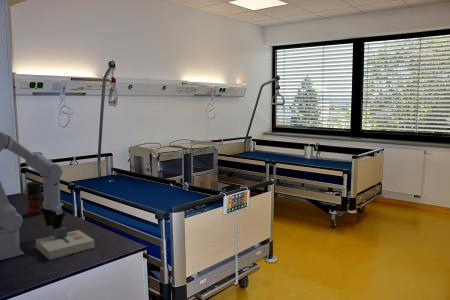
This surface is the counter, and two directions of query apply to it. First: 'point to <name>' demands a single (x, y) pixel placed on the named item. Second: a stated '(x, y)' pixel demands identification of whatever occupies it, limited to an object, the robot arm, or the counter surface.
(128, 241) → the counter surface
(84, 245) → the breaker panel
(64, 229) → the handle
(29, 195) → the deodorant
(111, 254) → the counter surface
